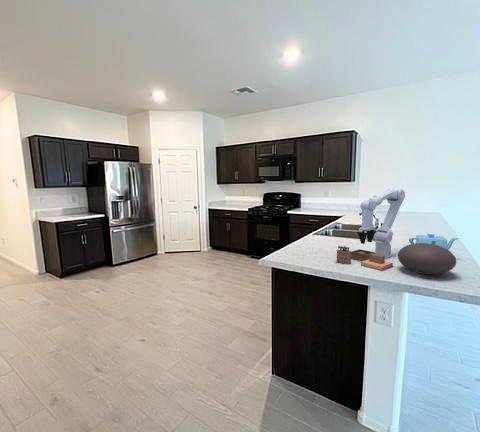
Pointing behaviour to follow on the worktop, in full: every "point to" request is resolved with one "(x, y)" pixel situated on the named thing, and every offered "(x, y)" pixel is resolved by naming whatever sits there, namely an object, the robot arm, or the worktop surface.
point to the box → (361, 255)
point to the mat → (379, 269)
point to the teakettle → (433, 240)
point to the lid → (377, 262)
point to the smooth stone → (427, 258)
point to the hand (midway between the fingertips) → (366, 242)
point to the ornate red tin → (343, 255)
